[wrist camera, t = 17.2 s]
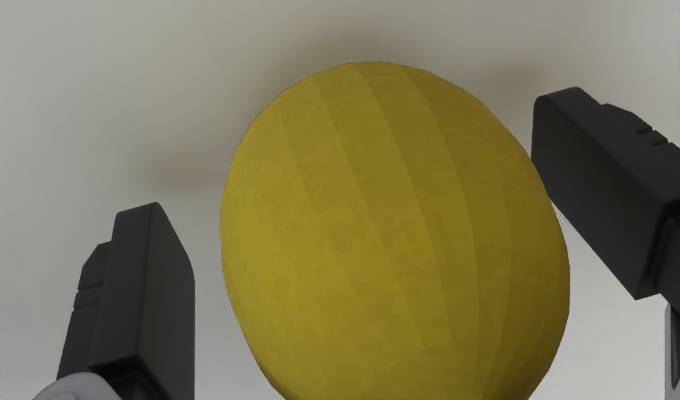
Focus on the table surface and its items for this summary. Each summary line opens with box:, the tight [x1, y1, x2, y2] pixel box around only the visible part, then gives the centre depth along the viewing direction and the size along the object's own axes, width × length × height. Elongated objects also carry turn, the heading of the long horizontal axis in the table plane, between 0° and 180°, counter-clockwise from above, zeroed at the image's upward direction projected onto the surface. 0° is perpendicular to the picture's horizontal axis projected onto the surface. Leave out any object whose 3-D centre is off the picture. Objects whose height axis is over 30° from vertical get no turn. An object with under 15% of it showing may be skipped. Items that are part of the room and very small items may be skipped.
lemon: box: [220, 62, 570, 400], centre depth 9 cm, size 6×6×8 cm
